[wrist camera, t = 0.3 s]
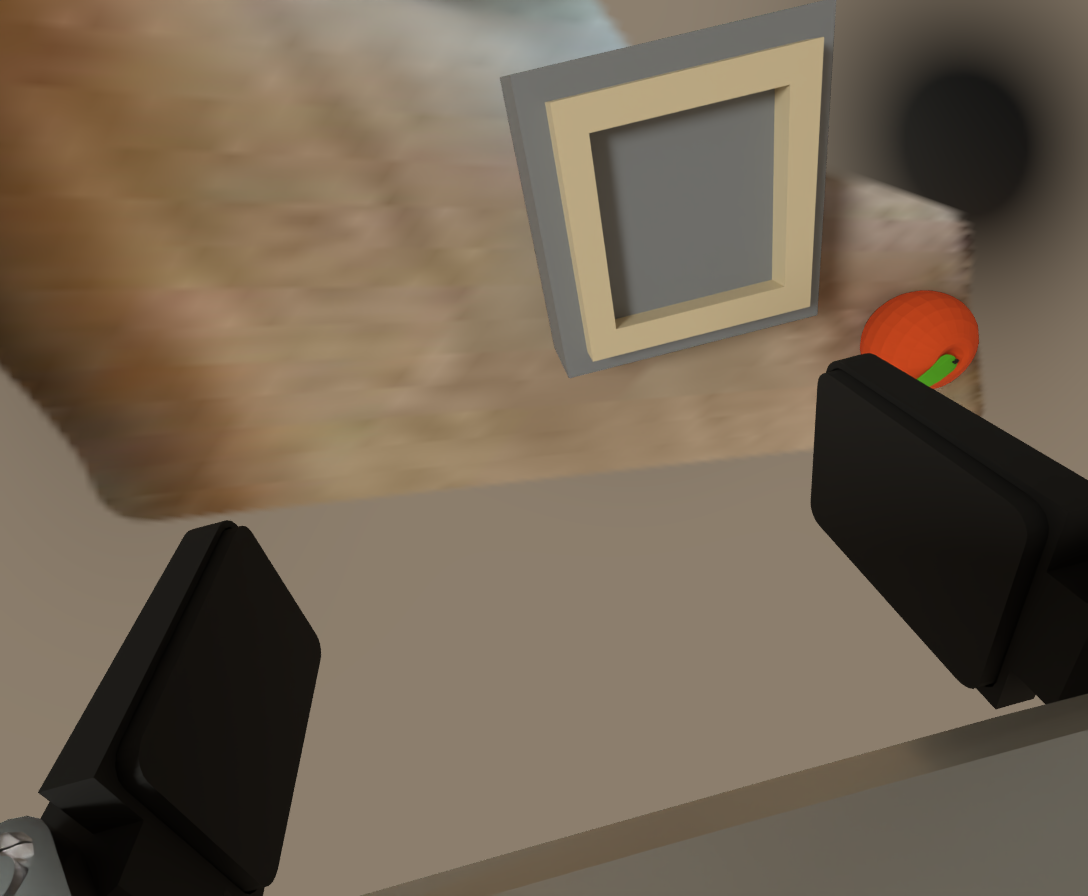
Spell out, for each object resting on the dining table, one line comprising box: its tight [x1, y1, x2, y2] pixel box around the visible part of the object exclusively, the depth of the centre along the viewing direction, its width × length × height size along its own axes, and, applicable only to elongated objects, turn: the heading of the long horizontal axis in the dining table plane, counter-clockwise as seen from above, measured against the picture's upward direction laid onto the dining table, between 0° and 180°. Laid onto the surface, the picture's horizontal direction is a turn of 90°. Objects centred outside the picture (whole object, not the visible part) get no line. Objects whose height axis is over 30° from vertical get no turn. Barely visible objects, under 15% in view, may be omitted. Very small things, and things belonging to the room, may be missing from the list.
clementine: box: [860, 290, 979, 389], centre depth 40 cm, size 8×7×7 cm
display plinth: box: [500, 0, 836, 378], centre depth 33 cm, size 16×16×6 cm
